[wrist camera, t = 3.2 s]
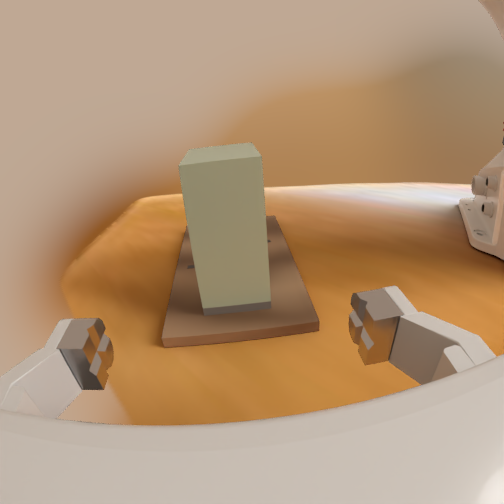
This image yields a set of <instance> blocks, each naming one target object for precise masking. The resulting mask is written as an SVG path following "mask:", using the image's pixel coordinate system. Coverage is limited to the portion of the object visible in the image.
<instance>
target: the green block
mask: <svg viewBox="0 0 504 504" xmlns="http://www.w3.org/2000/svg"><path fill="white" fill-rule="evenodd" d="M262 169H263V168H262V156H261V155H260V153H259V152H258V150H257V149H256V148H255V146H254V145H253V144H252V143H242V144H231V145H222V146H213V147H205V148H197V149H189V151H188V152H187V154H186V155H185V157H184V158H183V160H182V161H181V163H180V164H179V173H180V179H181V186H182V193H183V200H184V206H185V213H186V219H187V225H188V231H189V237H190V243H191V249H192V254H193V260H194V265H195V271H196V276H197V281H198V287H199V292H200V297H201V302H202V307H203V312H204V316H206V315H217V314H226V313H236V312H245V311H254V310H262V309H271V293H270V276H269V259H268V243H267V227H266V212H265V197H264V182H263V170H262Z"/></svg>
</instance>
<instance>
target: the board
mask: <svg viewBox="0 0 504 504" xmlns="http://www.w3.org/2000/svg"><path fill="white" fill-rule="evenodd" d="M266 227H267V243H268V259H269V276H270V293H271V309H262V310H254V311H245V312H236V313H226V314H217V315H206V316H204V312H203V307H202V302H201V297H200V292H199V287H198V281H197V276H196V271H195V265H194V260H193V254H192V249H191V243H190V237H189V231H188V225H187V227H186V231H185V235H184V239H183V243H182V247H181V251H180V255H179V259H178V264H177V268H176V272H175V277H174V281H173V285H172V290H171V294H170V299H169V304H168V308H167V313H166V318H165V323H164V328H163V333H162V342H163V345H164V347H178V346H192V345H204V344H215V343H226V342H236V341H245V340H254V339H262V338H270V337H278V336H286V335H293V334H300V333H307V332H313V331H319V319H318V316H317V314H316V311H315V309H314V306H313V304H312V302H311V299H310V297H309V294H308V292H307V290H306V287H305V285H304V282H303V280H302V278H301V275H300V273H299V271H298V268H297V266H296V264H295V261H294V259H293V257H292V254H291V252H290V250H289V247H288V245H287V243H286V240H285V238H284V236H283V233H282V231H281V229H280V227H279V224H278V222H277V220H276V217H275V216H266Z"/></svg>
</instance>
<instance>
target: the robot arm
mask: <svg viewBox="0 0 504 504" xmlns="http://www.w3.org/2000/svg"><path fill="white" fill-rule="evenodd" d="M478 1H479V2H480V3H481V4H482V5H483V6H484V8H485V9H486V10H487V11H488V13H489V14H490V16H491V17H492V19H493V20H494V22H495V24H496V25H497V28H498V30H499V31H500V34H501V36H502V38H503V41H504V0H478ZM503 123H504V122H503ZM503 131H504V129H503ZM502 143H503V145H504V138H503V142H502ZM472 193H473V194H474V195H475V198H464V199H460V201H459V209H460V212H461V215H462V218H463V221H464V224H465V228H466V231H467V234H468V238H469V242H470V244H471V245H472V246H473V247H475V248H477V249H479V250H481V251H484V252H487V253H489V254H492V255H495V256H497V257H499V258H501V259H503V260H504V147H503V149H502V151H500V152H499V153H498V154H497V155H496V156H495V157H494V158H493V159H492V160H491V161H490V162H489V163H488V164H487V165H486V166H485V167H483V168H482V169H481V170H480V172H479V175H478V176H473V179H472ZM351 305H352V307H353V309H354V310H353V311H352V312H351V314H350V315H349V332H350V335H351V338H352V340H353V342H354V343H356V344H358V345H359V349H358V352H359V354H360V356H361V358H362V360H363V362H364V364H365V365H370V364H375V363H380V362H385V361H389V362H390V363H391V364H393V365H394V366H396V367H397V368H398V369H400V370H401V371H403V372H404V373H406V374H407V375H408V376H410V377H411V378H413V379H414V380H416V381H417V382H418V383H420V384H421V385H420V386H417V387H414V388H411V389H407V390H404V391H400V392H397V393H393V394H390V395H386V396H382V397H379V398H375V399H371V400H367V401H363V402H358V403H354V404H350V405H345V406H340V407H336V408H331V409H325V410H320V411H315V412H309V413H303V414H297V415H290V416H283V417H276V418H268V419H260V420H251V421H241V422H230V423H216V424H198V425H122V424H104V423H91V422H81V421H71V420H61V419H57V418H58V417H59V416H60V414H61V413H62V412H63V411H64V410H65V409H66V408H67V407H68V406H69V405H70V403H71V402H72V401H73V400H74V399H75V398H76V397H77V396H78V395H79V394H80V393H81V392H82V390H104V388H105V385H106V382H107V379H108V373H107V371H106V370H107V369H108V368H109V367H111V366H112V362H113V354H114V351H113V346H112V343H111V340H110V338H108V337H107V336H106V335H105V334H104V331H105V326H104V324H103V321H102V320H101V319H99V318H80V319H62V320H60V321H59V322H58V324H57V325H56V327H55V329H54V331H53V332H52V334H51V336H50V338H49V339H48V341H47V343H46V345H45V347H44V348H43V349H39V350H38V351H36V352H34V353H33V354H32V355H30V356H29V357H27V358H26V359H25V360H23V361H22V362H20V363H19V364H17V365H16V366H15V367H13V368H12V369H10V370H9V371H8V372H6V373H5V374H3V375H2V376H1V377H0V504H504V354H502V355H500V356H497V357H496V356H495V354H494V353H493V352H492V351H491V350H490V348H489V347H488V346H487V345H486V344H485V342H484V341H483V340H482V339H481V338H480V336H478V335H476V334H473V333H471V332H469V331H466V330H464V329H462V328H459V327H457V326H455V325H452V324H450V323H448V322H445V321H443V320H441V319H438V318H436V317H434V316H431V315H429V314H427V313H424V312H418V311H417V310H416V309H415V308H414V306H413V305H412V304H411V303H410V302H409V300H408V299H407V298H406V297H405V295H404V294H403V293H402V292H401V291H400V289H399V288H398V287H397V286H389V287H384V288H381V289H376V290H370V291H364V292H357V293H353V295H352V298H351Z"/></svg>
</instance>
